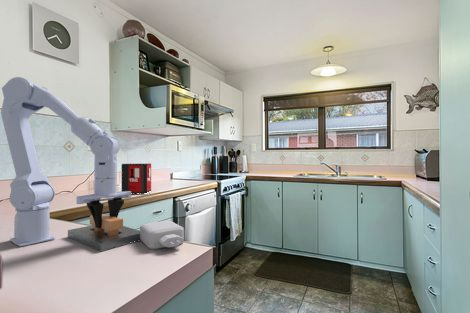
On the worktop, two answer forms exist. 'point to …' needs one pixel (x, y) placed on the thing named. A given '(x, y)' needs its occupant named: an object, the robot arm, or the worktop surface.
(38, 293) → the worktop surface
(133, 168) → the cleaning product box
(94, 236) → the gray rectangular slab
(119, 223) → the clip
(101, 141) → the robot arm
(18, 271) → the worktop surface
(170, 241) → the charger
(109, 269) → the worktop surface
